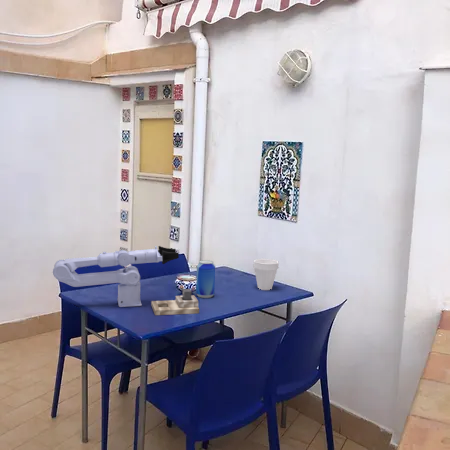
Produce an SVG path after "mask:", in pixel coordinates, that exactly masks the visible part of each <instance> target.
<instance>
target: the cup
mask: <svg viewBox="0 0 450 450" xmlns="http://www.w3.org/2000/svg"><path fill="white" fill-rule="evenodd" d="M279 264H280V263H279V261H278V260H277V259H273V258H256V259H254V260H253V270H254V273H255V275H254V276H255V280H256V284H257V288H259V289H258V290H260V289H261V290H260V291H270V289H271V290H272V289H273V285H274V282H275V279H276V275H277V272H278V269H279Z"/></svg>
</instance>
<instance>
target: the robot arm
mask: <svg viewBox="0 0 450 450" xmlns="http://www.w3.org/2000/svg"><path fill="white" fill-rule="evenodd" d="M176 251H177V250H176V248H171V247H170V248H168V247H163V246H161V245H159V246H157V245H155V246H154V248H149V249H137V250H136V249H135V250H128V251H127V250H125V249H124V250H123V249H119V250H115V251H113V252H112V251H111V252H107V251H102V253H99V254H98V255H97V256H91V257H70V258H69V257H68V258H65V259H59V260H57V261H56V262H55V263H54V265H53V266H54V267H53V269H52V275H53V277H54V278H55V279H56V280H57V281H58V282H61V283H64V284H66V285H68V286H71V287H74V288H79V287H86V286H88V287H89V286H97V285H98V286H99V285H107V284H118V285H117V298H116V299H117V305H118V307H120V308H121V307H123V308H124V307H125V308H127V307H142V302H141V281H140V280H141V275H140V273H139V270H138V269H139V268H137V267H136V266H133V265H137V264H147V263H148V264H150V263H160V262H161V264H162V265H165V264H166V263H168V262H170V261H173V260H177V259H179V257H180V255H179V252H176ZM97 265H98V266H99V267H100V268H108V267H115V266H116V267H117V266H121V267H124V268H120V269H117V270H110V271H102V272H88V273H80V274H79V273H77V272H76V271H75V270H77V269H79V268H83V267H90V266H97Z"/></svg>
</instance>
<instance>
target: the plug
mask: <svg viewBox="0 0 450 450" xmlns="http://www.w3.org/2000/svg"><path fill="white" fill-rule="evenodd" d="M191 295H193V293H192V290H191V289H190V288H183V289H182V296H183V297H182V300H191Z"/></svg>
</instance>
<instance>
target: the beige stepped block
mask: <svg viewBox="0 0 450 450" xmlns="http://www.w3.org/2000/svg"><path fill="white" fill-rule="evenodd" d="M182 297H183V295H175V299H174V300H173V299H171V300H151V301H150V303H151V304H150V306H151V308H152V312H153V314H154V316H167V315H168V316H169V315H171V316H172V315H188V314H189V315H193V314H200V308H199V300H198V298H197V297H196V296H195V295H194V294H191V300H182Z"/></svg>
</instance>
